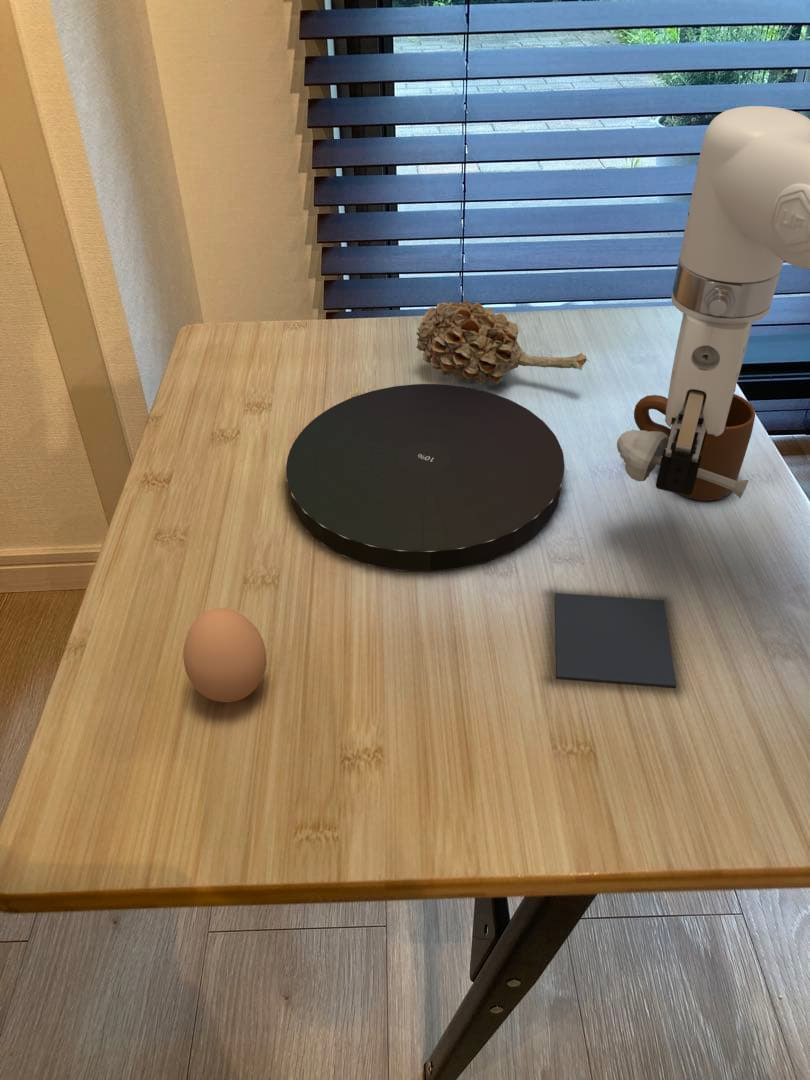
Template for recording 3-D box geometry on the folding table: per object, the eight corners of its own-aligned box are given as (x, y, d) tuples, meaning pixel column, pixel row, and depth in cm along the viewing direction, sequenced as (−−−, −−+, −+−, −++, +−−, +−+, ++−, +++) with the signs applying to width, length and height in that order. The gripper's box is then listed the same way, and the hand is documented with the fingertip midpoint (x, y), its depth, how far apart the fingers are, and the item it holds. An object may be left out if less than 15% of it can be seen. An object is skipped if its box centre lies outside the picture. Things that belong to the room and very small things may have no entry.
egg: (288, 689, 72) (274, 616, 66) (224, 735, 69) (203, 663, 63) (242, 647, 76) (225, 574, 70) (179, 689, 72) (155, 617, 66)
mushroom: (751, 480, 71) (617, 428, 75) (728, 525, 74) (600, 473, 77) (759, 453, 77) (635, 406, 80) (738, 496, 80) (618, 449, 83)
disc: (243, 541, 86) (238, 519, 84) (344, 389, 107) (342, 368, 105) (533, 599, 79) (535, 576, 77) (580, 424, 100) (583, 402, 98)
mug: (614, 480, 92) (627, 407, 86) (634, 443, 97) (647, 372, 91) (726, 511, 88) (749, 436, 82) (741, 471, 93) (763, 398, 87)
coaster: (663, 602, 79) (663, 600, 78) (675, 687, 71) (676, 685, 71) (554, 595, 80) (555, 592, 79) (556, 678, 72) (556, 676, 72)
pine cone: (407, 390, 107) (405, 318, 100) (426, 353, 114) (426, 283, 107) (582, 414, 102) (592, 340, 95) (591, 374, 109) (602, 302, 102)
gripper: (765, 345, 59) (709, 536, 71) (781, 248, 71) (731, 426, 83) (656, 327, 61) (620, 516, 73) (690, 236, 73) (653, 412, 85)
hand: (679, 467), depth 78 cm, fingers closed on mushroom, 5 cm apart
